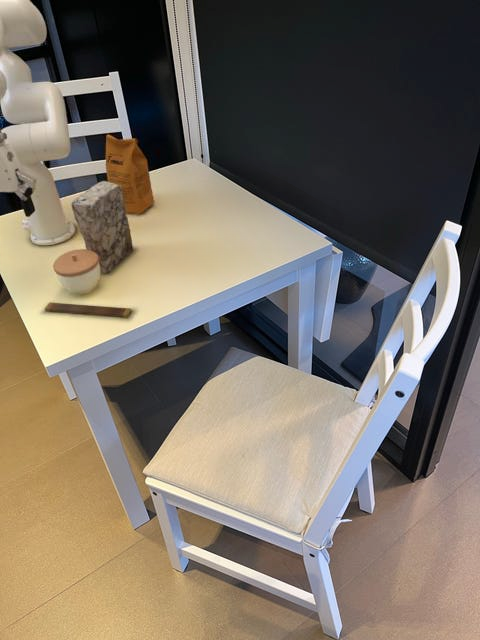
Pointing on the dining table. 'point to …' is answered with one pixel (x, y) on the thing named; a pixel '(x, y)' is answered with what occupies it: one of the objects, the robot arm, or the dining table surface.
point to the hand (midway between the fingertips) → (12, 213)
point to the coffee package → (129, 173)
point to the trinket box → (78, 270)
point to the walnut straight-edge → (88, 310)
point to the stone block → (104, 224)
